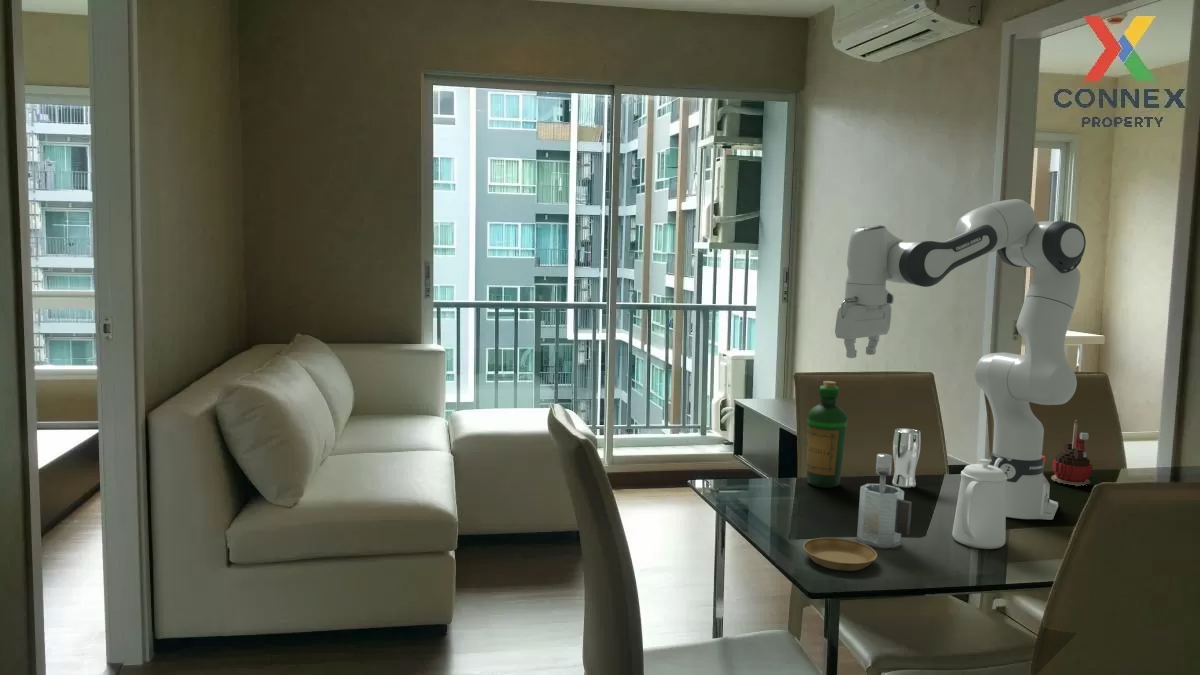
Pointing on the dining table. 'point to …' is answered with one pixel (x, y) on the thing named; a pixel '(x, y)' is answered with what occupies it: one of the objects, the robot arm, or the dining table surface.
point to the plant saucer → (839, 553)
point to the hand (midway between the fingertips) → (861, 356)
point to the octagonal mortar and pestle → (883, 517)
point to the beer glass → (905, 456)
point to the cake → (1073, 461)
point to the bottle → (825, 438)
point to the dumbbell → (883, 469)
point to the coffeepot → (981, 506)
